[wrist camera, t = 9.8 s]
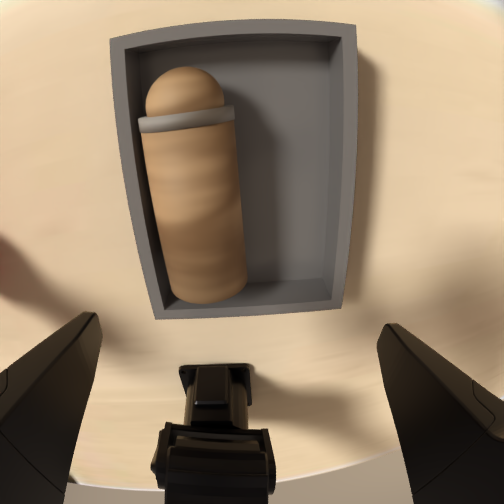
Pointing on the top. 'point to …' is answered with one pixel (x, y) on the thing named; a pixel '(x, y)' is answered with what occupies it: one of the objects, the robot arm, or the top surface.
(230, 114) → the shaker
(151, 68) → the dish
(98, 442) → the top surface
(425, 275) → the top surface
